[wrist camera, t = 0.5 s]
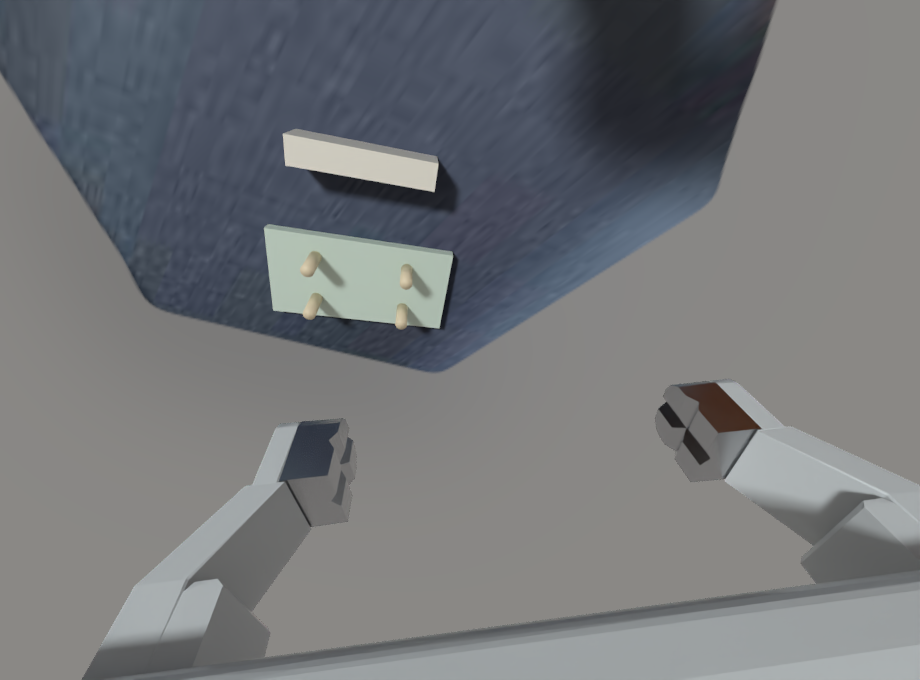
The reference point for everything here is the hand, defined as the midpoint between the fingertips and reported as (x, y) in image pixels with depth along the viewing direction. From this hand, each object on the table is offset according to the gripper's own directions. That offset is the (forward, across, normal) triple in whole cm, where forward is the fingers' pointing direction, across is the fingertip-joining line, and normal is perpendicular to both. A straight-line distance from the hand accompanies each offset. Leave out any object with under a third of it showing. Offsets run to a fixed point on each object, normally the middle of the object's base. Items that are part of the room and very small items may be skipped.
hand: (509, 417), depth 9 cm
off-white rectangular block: (+42, +8, 0) cm, 43 cm away
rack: (+42, +12, +16) cm, 47 cm away
